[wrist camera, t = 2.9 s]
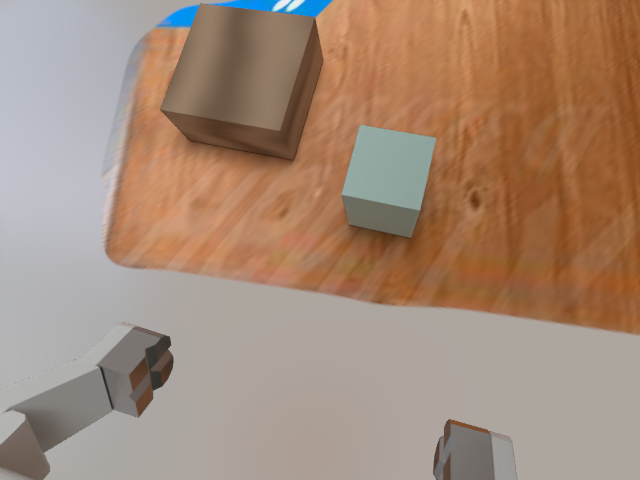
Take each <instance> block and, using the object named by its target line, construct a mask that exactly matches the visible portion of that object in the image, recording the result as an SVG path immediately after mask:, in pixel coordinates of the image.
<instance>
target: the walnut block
mask: <svg viewBox="0 0 640 480" xmlns="http://www.w3.org/2000/svg"><path fill="white" fill-rule="evenodd" d="M322 62H323V55H322V50H321V45H320V40H319V35H318V30H317V25H316V20H315V17H311V16H302V15H294V14H285V13H277V12H268V11H260V10H251V9H243V8H234V7H226V6H218V5H209V4H200V5H199V8H198V10H197V13H196V16H195V18H194V21H193V24H192V26H191V29H190V32H189V34H188V37H187V40H186V42H185V45H184V47H183V50H182V53H181V55H180V58H179V61H178V63H177V66H176V69H175V71H174V74H173V77H172V79H171V82H170V84H169V87H168V90H167V92H166V95H165V98H164V100H163V103H162V106H161V108H160V110H161V111H162V112H163V113H164V114H165V115H166V117H167V118H168V119H169V120H170V121H171V122H172V123H173V124H174V125H175V126H176V127H177V128H178V129H179V130H180V131H181V132H182V133H183V135H184V136H185V137H186V138H187V139H188V140H191V141H196V142H202V143H207V144H212V145H217V146H223V147H228V148H233V149H238V150H244V151H249V152H254V153H259V154H264V155H270V156H275V157H280V158H285V159H291V160H294V157H295V153H296V150H297V147H298V143H299V140H300V137H301V133H302V130H303V126H304V123H305V120H306V116H307V113H308V110H309V106H310V103H311V99H312V96H313V93H314V89H315V86H316V83H317V79H318V76H319V72H320V69H321V66H322Z"/></svg>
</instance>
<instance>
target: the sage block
mask: <svg viewBox="0 0 640 480" xmlns="http://www.w3.org/2000/svg"><path fill="white" fill-rule="evenodd" d="M435 142H436V138H435V137H429V136H423V135H417V134H411V133H405V132H399V131H393V130H387V129H381V128H375V127H370V126H364V125H360V127H359V131H358V135H357V139H356V142H355V146H354V150H353V154H352V157H351V161H350V165H349V169H348V172H347V176H346V180H345V184H344V188H343V191H342V198H343V202H344V206H345V210H346V214H347V218H348V222H349V225H353V226H358V227H362V228H367V229H372V230H376V231H381V232H385V233H390V234H394V235H399V236H404V237H408V238H411V237H412V234H413V231H414V228H415V225H416V222H417V219H418V216H419V213H420V209H421V205H422V200H423V196H424V191H425V187H426V182H427V178H428V173H429V169H430V164H431V160H432V155H433V151H434V146H435Z"/></svg>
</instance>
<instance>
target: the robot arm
mask: <svg viewBox="0 0 640 480" xmlns="http://www.w3.org/2000/svg"><path fill="white" fill-rule="evenodd" d="M170 346H171V341H170V337H169V336H166V335H163V334H160V333H157V332H154V331H150V330H147V329H144V328H141V327H138V326H135V325H132V324H129V323H125V322H122V323H119V324H117V325H116V326H115V327H114V328H113V329H112V330H111V331H110V332H109V333H108V334H107V335H106V336H105V337H104V338H103V339H101V340H100V341H99V342H98V343H97V344H96V345H95V346H94V347H93V348H92V349H91V350H90V351H89V352H88V353H87V354H86V355H85V356H84V357H83V358H82V359H81V360H76V359H75V360H72V361H69V362H67V363H65V364H62V365H59V366H57V367H54V368H52V369H49V370H47V371H44V372H42V373H39V374H37V375H34V376H32V377H29V378H27V379H24V380H22V381H20V382H17V383H14V384H12V385H9V386H7V387H4V388H2V389H0V480H43V479H44V478H45V477H46V476H47V474H48V473H49V472H50V465H49V463H48V461H47V459H46V457H45V455H44V452H46V451H48V450H49V449H51V448H53V447H54V446H56V445H57V444H59V443H61V442H62V441H64V440H66V439H67V438H69V437H71V436H72V435H74V434H76V433H77V432H79V431H81V430H82V429H84V428H86V427H87V426H89V425H91V424H92V423H94V422H95V421H97V420H99V419H100V418H102V417H104V416H105V415H107V414H109V413H110V412H112V409H113V410H116V411H119V412H123V413H126V414H129V415H132V416H135V417H140V415H141V414H142V413H143V411H144V410H145V409H146V407H147V406H148V405H149V403H150V402H151V401H152V400H153V391H154V390H156V389H158V388H160V387H162V386H163V385H164V383H165V382H166V381H167V379H168V378H169V375H170V373H171V371H172V368H173V362H174V361H173V355H172V354H171V352H170V351H169V350H168V348H169V347H170ZM433 474H434V476H435V478H436V480H517V475H516V467H515V460H514V452H513V446H512V441H511V439H510V437H508V436H505V435H501V434H498V433H495V432H491V431H488V430H486V429H482V428H479V427H476V426H472V425H468V424H465V423H461V422H458V421H454V420H450V419H449V420H448V421H447V422H446V424H445V427H444V436H442V437H440V439H439V441H438V444H437V447H436V452H435V457H434V468H433Z"/></svg>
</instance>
